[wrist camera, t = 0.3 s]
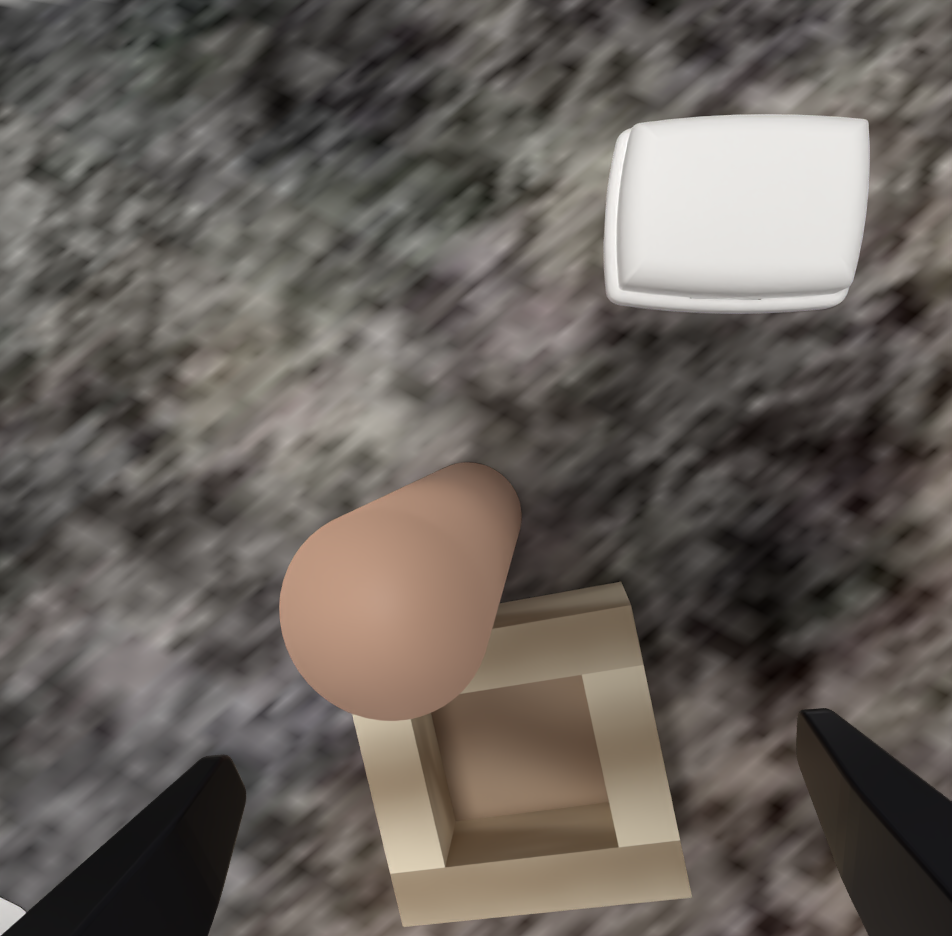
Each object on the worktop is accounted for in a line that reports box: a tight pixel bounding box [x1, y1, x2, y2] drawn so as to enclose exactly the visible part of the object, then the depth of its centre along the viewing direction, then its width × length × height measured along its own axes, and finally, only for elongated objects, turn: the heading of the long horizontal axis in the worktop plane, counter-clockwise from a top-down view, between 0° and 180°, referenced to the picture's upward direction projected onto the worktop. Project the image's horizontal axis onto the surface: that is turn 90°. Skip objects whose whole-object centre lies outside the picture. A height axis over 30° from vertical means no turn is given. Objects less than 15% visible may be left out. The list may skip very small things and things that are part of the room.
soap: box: [603, 114, 870, 314], centre depth 21 cm, size 9×7×3 cm
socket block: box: [352, 582, 692, 927], centre depth 23 cm, size 11×11×3 cm
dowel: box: [279, 462, 522, 721], centre depth 18 cm, size 4×4×12 cm
